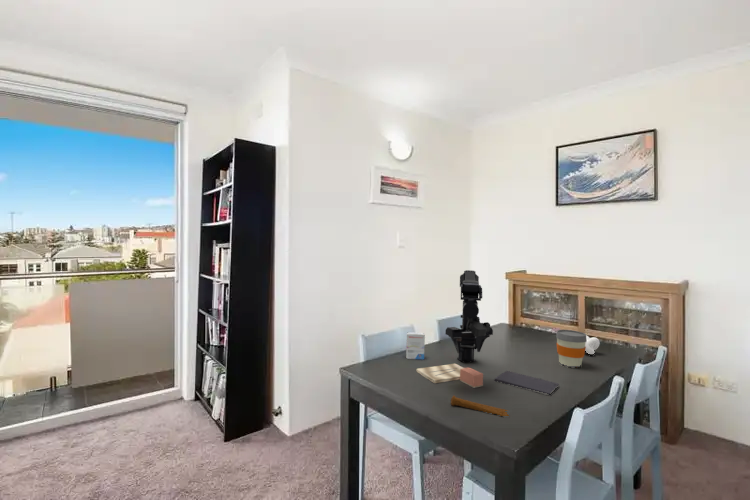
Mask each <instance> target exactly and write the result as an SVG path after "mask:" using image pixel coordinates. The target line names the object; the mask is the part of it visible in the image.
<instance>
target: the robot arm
mask: <svg viewBox="0 0 750 500" xmlns="http://www.w3.org/2000/svg"><path fill="white" fill-rule="evenodd" d="M479 279H480V277H479V275H477V274H476V271H475V270H464V271H463V273H462V274H460V276H459V288H460V300H462V314H460V319H462V320H461V324H460V325H459V327H460V328H458V327H456V326H451V327H450V326H447V327H446V329H445V333H444V335H446V336H448V337H449V338H451V341H452V343H453V345H454V347H455V350H456V352H457V354H458V357H457V358H456V359H457V360H459V361H460V362H463V363H465V364H467V363H474V362H477V360H476V359H475V350H476V351H477V353H480V352H481V349H482V348H483V345H484V342H485V340H486V339H487V338H490V337H491V336H493V335H494V329H493V327H491V323H489V322H480V321H481V320H480V317H479V316H478V314H479V312H480V308H479V306H478V304H479V301H482V299H483V287H482V286H481V284H480V280H479Z"/></svg>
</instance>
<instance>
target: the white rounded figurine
mask: <svg viewBox="0 0 750 500" xmlns="http://www.w3.org/2000/svg"><path fill="white" fill-rule="evenodd" d="M586 340H587V341H586V343H585V347H586V349H585V351H586V352H585V353H586V354H587V353H588V354H594V353H595V352H596V350H597V349H598V348H599V347H600V345H601V343H600V339H598V338H597V337H590V336H589V335H587V334H586ZM594 350H595V351H594ZM594 355H595V354H594Z"/></svg>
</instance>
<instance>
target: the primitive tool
mask: <svg viewBox="0 0 750 500" xmlns="http://www.w3.org/2000/svg"><path fill="white" fill-rule="evenodd" d="M450 405H451V406H452V407H453V406H455V407H456V406H457V407H458V406H459V407H462V408H466V409H470V410H474V411H477V410H478V412H481V411H483V412H482V413H485V412H487V413H486V414H489V413H492V414H491V415H493V414H497V415H500V416H509V415H508V414H507V412H505V411H508V410H507V409H505V408H500V407H496V406H491V405H487V404H483V403H479V402H474V401H470V400H467V399H463V398H460V397H456V395H453V396H451V398H450ZM497 415H496V416H497ZM500 416H499V417H500Z"/></svg>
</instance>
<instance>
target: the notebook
mask: <svg viewBox="0 0 750 500" xmlns="http://www.w3.org/2000/svg"><path fill="white" fill-rule="evenodd" d="M493 381H495V382H497V381H498V382H497V383H500V382H502V383H501V384H504V383H505V385H507V384H510V385H509V386H511V385H514V386H513V387H515V386H518V387H522V388H527V389H531V390H535V391H539V392H543V393H547V394H550V393H551V392H552V391H553V390H554V389H555V388H556V387H557V386H558V387H559V386H560V383H557V382H553V381H549V380H545V379H541V378H538V377H533V376H529V375H525V374H523V373H522V374H521V373H517V372H513V371H510V370H506V371H504V372H502V373H501V374H499V375H498V376H496V377H495V378H494V379H493ZM518 387H517V388H518ZM522 388H521V389H522Z"/></svg>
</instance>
